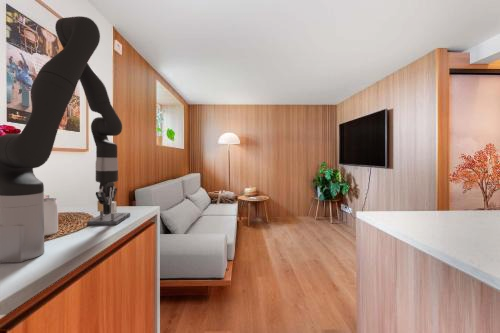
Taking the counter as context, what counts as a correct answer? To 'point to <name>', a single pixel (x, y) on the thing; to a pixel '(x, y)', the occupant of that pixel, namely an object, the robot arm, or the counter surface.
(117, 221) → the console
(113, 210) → the knob
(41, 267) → the counter surface
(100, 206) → the knob
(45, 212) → the can
